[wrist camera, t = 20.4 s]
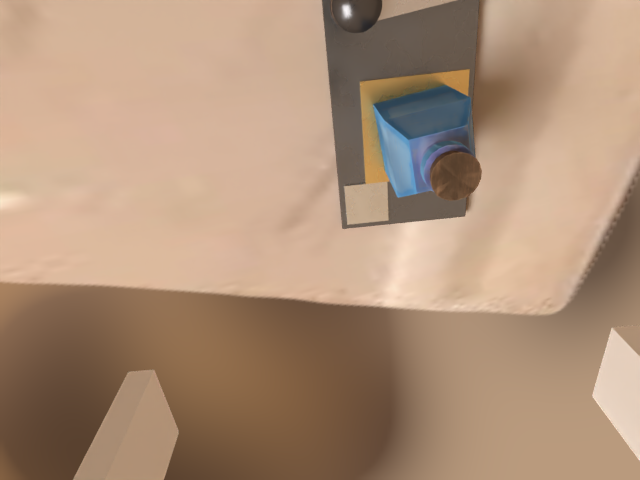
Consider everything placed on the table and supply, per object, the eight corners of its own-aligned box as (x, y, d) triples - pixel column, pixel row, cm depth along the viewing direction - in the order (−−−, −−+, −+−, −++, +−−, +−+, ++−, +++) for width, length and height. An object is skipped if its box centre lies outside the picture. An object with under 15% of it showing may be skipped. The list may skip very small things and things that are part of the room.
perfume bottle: (372, 103, 36) (398, 141, 25) (445, 84, 35) (504, 115, 24) (385, 171, 38) (413, 231, 28) (453, 155, 38) (508, 209, 27)
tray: (318, -36, 32) (319, -39, 30) (479, -56, 31) (490, -60, 29) (342, 225, 42) (343, 235, 40) (462, 212, 42) (470, 222, 40)
